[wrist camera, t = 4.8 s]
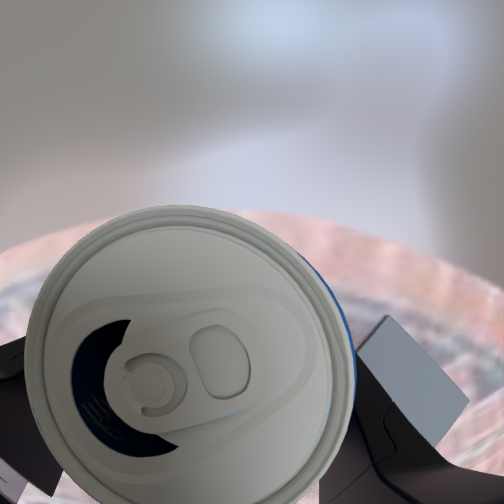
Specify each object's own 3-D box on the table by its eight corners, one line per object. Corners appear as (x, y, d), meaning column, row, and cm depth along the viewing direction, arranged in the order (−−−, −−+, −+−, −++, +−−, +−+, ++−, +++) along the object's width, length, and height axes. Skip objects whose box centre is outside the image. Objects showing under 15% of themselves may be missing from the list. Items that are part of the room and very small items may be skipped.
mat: (466, 399, 19) (469, 400, 18) (375, 502, 16) (377, 505, 16) (386, 315, 22) (389, 314, 21) (280, 427, 20) (280, 429, 19)
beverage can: (161, 325, 16) (-6, 263, 5) (268, 283, 16) (275, 133, 5) (203, 432, 14) (90, 554, 3) (315, 391, 14) (430, 469, 3)
